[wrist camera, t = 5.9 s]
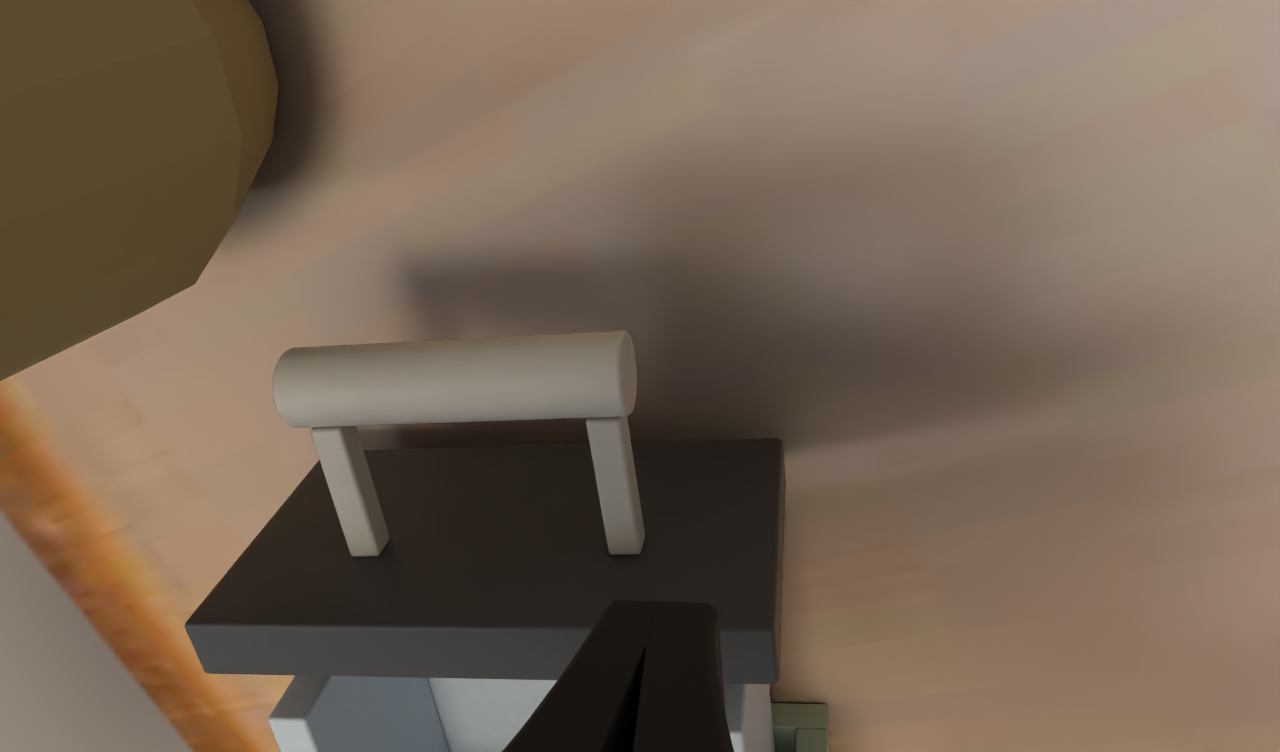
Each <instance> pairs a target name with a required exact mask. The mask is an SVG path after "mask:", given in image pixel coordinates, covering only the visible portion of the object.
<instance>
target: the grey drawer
mask: <svg viewBox="0 0 1280 752" xmlns="http://www.w3.org/2000/svg"><path fill="white" fill-rule="evenodd" d="M636 392H637V369H636V359H635V352H634V347H633V343H632V340H631V338H630V335H629V334H628V332H626V331H605V332H586V333H567V334H548V335H529V336H510V337H492V338H473V339H454V340H435V341H416V342H397V343H378V344H359V345H340V346H321V347H302V348H292V349H289V350H288V351H286V352H285V353H283V355H282V356H281V357H280V359H279V360H278V362H277V365H276V368H275V372H274V378H273V394H274V400H275V404H276V407H277V410H278V412H279V414H280V416H281V417H282V419H283V420H284V421H285V422H286V423H287V424H288V425H290V426H292V427H295V428H307V427H313V428H312V430H311V435H312V438H313V441H314V444H315V447H316V450H317V453H318V457H319V461H318V462H317V463H316V465H315V466H314V467H313V468H312V470H311V471H310V472H309V473H308V474H307V476H306V477H305V478H304V479H303V481H302V482H301V483H300V484H299V485H298V487H297V488H296V489H295V490H294V491H293V493H292V494H291V495H290V496H289V498H288V499H287V500H286V501H285V502H284V504H283V505H282V506H281V507H280V509H279V510H278V511H277V512H276V513H275V515H274V516H273V517H272V518H271V519H270V521H269V522H268V523H267V524H266V526H265V527H264V528H263V529H262V530H261V532H260V533H259V534H258V535H257V536H256V538H255V539H254V540H253V541H252V543H251V544H250V545H249V546H248V547H247V549H246V550H245V551H244V552H243V554H242V555H241V556H240V557H239V558H238V560H237V561H236V562H235V563H234V564H233V566H232V567H231V568H230V569H229V571H228V572H227V573H226V574H225V575H224V577H223V578H222V579H221V580H220V582H219V583H218V584H217V585H216V586H215V588H214V589H213V590H212V591H211V592H210V594H209V595H208V596H207V597H206V599H205V600H204V601H203V602H202V603H201V605H200V606H199V607H198V608H197V609H196V611H195V612H194V613H193V614H192V616H191V617H190V618H189V619H188V620H187V622H186V623H185V629H186V631H187V633H188V635H189V638H190V640H191V642H192V644H193V647H194V649H195V651H196V653H197V656H198V658H199V660H200V662H201V665H202V667H203V669H204V671H205V672H206V673H213V674H263V675H295V677H294V678H293V680H292V682H291V683H290V685H289V686H288V688H287V690H286V691H285V693H284V694H283V696H282V697H281V699H280V701H279V702H278V704H277V705H276V707H275V709H274V710H273V712H272V713H271V715H270V716H269V724H270V726H271V729H272V731H273V733H274V736H275V738H276V741H277V743H278V745H279V748H280V750H281V752H502V751H503V750H504V749H505V747H506V746H507V745H508V744H509V743H510V741H511V740H512V739H513V738H514V737H515V735H516V734H517V733H518V732H519V731H520V729H521V728H522V727H523V725H524V724H525V723H526V722H527V720H528V719H529V718H530V716H531V715H532V714H533V712H534V711H535V710H536V708H537V707H538V706H539V704H540V703H541V702H542V700H543V699H544V698H545V696H546V695H547V694H548V692H549V691H550V690H551V688H552V687H553V686H554V684H555V683H556V682H557V680H558V679H559V677H560V676H561V675H562V673H563V672H564V670H565V669H566V667H567V666H568V665H569V663H570V662H571V660H572V659H573V657H574V656H575V654H576V653H577V651H578V650H579V648H580V647H581V646H582V644H583V642H584V641H585V639H586V638H587V636H588V635H589V633H590V632H591V630H592V629H593V627H594V625H595V624H596V622H597V621H598V619H599V618H600V616H601V614H602V613H603V611H604V609H605V608H606V606H607V605H608V604H610V603H611V602H612V601H613V600H644V601H675V602H707V603H710V604H711V605H712V606H714V607H715V608H716V609H717V610H718V616H719V629H720V643H721V657H722V671H723V685H724V699H725V712H726V719H727V723H728V728H729V732H730V737H731V741H732V745H733V749H734V752H775V745H774V734H773V722H772V711H771V700H770V689H769V684H770V685H774V684H777V683H778V681H779V673H780V642H781V611H782V580H783V549H784V518H785V487H786V482H785V467H784V453H783V441H782V440H781V439H780V438H766V439H732V440H698V441H664V442H631V440H630V433H629V426H628V420H627V416H629V415H631V413H632V412H633V409H634V406H635V401H636ZM564 418H587V421H586V426H587V431H588V437H589V443H590V444H563V445H529V446H495V447H462V448H428V449H394V450H363V447H362V444H361V441H360V437H359V434H358V431H357V427H356V426H364V425H392V424H421V423H450V422H478V421H507V420H535V419H564Z"/></svg>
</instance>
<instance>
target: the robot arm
mask: <svg viewBox="0 0 1280 752" xmlns="http://www.w3.org/2000/svg"><path fill="white" fill-rule="evenodd" d="M502 752H734V749H733V745H732V741H731V737H730V732H729V728H728V723H727V719H726V712H725V699H724V685H723V671H722V657H721V643H720V629H719V616H718V610H717V609H716V608H715V607H714V606H712V605H711V604H710V603H707V602H675V601H644V600H613V601H612V602H611V603H610V604H608V605H607V606H606V608H605V609H604V611H603V613H602V614H601V616H600V618H599V619H598V621H597V622H596V624H595V625H594V627H593V629H592V630H591V632H590V633H589V635H588V636H587V638H586V639H585V641H584V642H583V644H582V646H581V647H580V648H579V650H578V651H577V653H576V654H575V656H574V657H573V659H572V660H571V662H570V663H569V665H568V666H567V667H566V669H565V670H564V672H563V673H562V675H561V676H560V677H559V679H558V680H557V682H556V683H555V684H554V686H553V687H552V688H551V690H550V691H549V692H548V694H547V695H546V696H545V698H544V699H543V700H542V702H541V703H540V704H539V706H538V707H537V708H536V710H535V711H534V712H533V714H532V715H531V716H530V718H529V719H528V720H527V722H526V723H525V724H524V725H523V727H522V728H521V729H520V731H519V732H518V733H517V734H516V735H515V737H514V738H513V739H512V740H511V741H510V743H509V744H508V745H507V746H506V747H505V749H504V750H503V751H502Z"/></svg>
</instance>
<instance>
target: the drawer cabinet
mask: <svg viewBox="0 0 1280 752" xmlns="http://www.w3.org/2000/svg"><path fill="white" fill-rule="evenodd" d="M771 711H772V722H773V734H774V745H775V752H829V736H828V718H827V706H826V705H825V704H789V703H771Z"/></svg>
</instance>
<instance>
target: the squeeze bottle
mask: <svg viewBox="0 0 1280 752" xmlns="http://www.w3.org/2000/svg"><path fill="white" fill-rule="evenodd" d="M278 86H279V84H278V80H277V76H276V72H275V68H274V64H273V61H272V57H271V53H270V49H269V45H268V41H267V37H266V33H265V29H264V26H263V22H262V21H261V19H260V18H259V16H258V15H257V13H256V11H255V10H254V8H253V7H252V5H251V3H250V2H249V0H0V381H1V380H3V379H5V378H7V377H9V376H11V375H13V374H16V373H18V372H20V371H22V370H24V369H26V368H28V367H30V366H32V365H34V364H36V363H38V362H40V361H42V360H45V359H47V358H49V357H51V356H53V355H55V354H57V353H59V352H61V351H63V350H65V349H67V348H69V347H71V346H73V345H76V344H78V343H80V342H82V341H84V340H86V339H88V338H90V337H92V336H94V335H96V334H98V333H100V332H102V331H105V330H107V329H109V328H111V327H113V326H115V325H117V324H119V323H121V322H123V321H125V320H127V319H129V318H131V317H133V316H135V315H137V314H139V313H141V312H143V311H145V310H147V309H149V308H150V307H152V306H154V305H156V304H158V303H160V302H162V301H164V300H165V299H167V298H169V297H171V296H173V295H175V294H177V293H179V292H181V291H182V290H184V289H186V288H188V287H190V286H192V285H194V284H195V283H196V281H197V280H198V278H199V276H200V275H201V273H202V272H203V270H204V268H205V267H206V265H207V264H208V262H209V260H210V259H211V257H212V256H213V254H214V252H215V251H216V249H217V248H218V246H219V244H220V243H221V241H222V240H223V238H224V236H225V235H226V233H227V232H228V230H229V228H230V227H231V225H232V224H233V222H234V220H235V218H236V216H237V214H238V211H239V209H240V207H241V205H242V203H243V201H244V199H245V197H246V195H247V193H248V190H249V188H250V186H251V184H252V182H253V180H254V178H255V176H256V174H257V172H258V169H259V167H260V165H261V163H262V161H263V159H264V157H265V155H266V153H267V151H268V148H269V146H270V144H271V142H272V140H273V131H274V122H275V113H276V104H277V95H278Z"/></svg>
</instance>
